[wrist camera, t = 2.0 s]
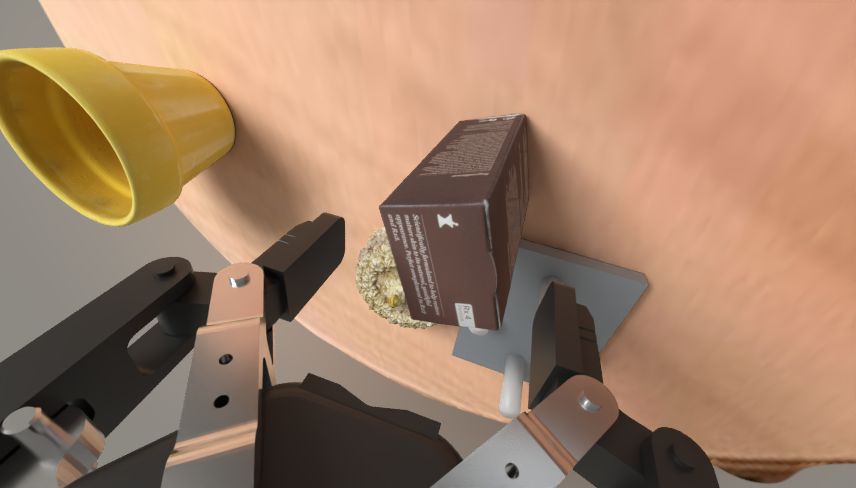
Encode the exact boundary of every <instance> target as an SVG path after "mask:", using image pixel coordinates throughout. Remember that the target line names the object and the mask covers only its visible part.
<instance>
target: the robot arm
mask: <svg viewBox="0 0 856 488" xmlns="http://www.w3.org/2000/svg"><path fill="white" fill-rule="evenodd" d="M344 253H345V220H344V218H342V217H339V216H336V215H332V214H329V213H322V214H321V215H320V216H319V217H318V218H317V219H315V220H314V221H313V222H311V221H307V222H304V223H302V224H299V225H297V226H295V227H294V228H293V229H292V230H290V231H289V232H288V233H287V235H284V236H283V237H282V238H281V239H280V240H279V241H277V242H276V243H275V244H274V245H272V246H271V247H270V248H269V249H268V250H266V251H265V252H264V253H263V254H262V255H260V256H259V257H258V258H257V259H256V260H254V261H253V262H252V263H237V264H233V265H230V266H228V267H226V268H224V269H222V270H221V271H220V272H218V273H209V272H194V271H193V269H192V266H191V264H190V262H189V261H188V260H186V259H184V258H180V257H167V258H161V259H158V260H155V261H152V262H151V263H148V264H147V265H145V266H143V267H142V268H141V269H139V270H138V271H136V272H135V273H133V274H132V275H130V276H128V277H127V278H126V279H124V280H123V281H121V282H120V283H118V284H117V285H115V286H114V287H112V288H111V289H109V290H108V291H106V292H105V293H103V294H102V295H100V296H99V297H97V298H96V299H94V300H93V301H91V302H90V303H88V304H87V305H85V306H84V307H82V308H81V309H79V310H78V311H77V312H75V313H74V314H72V315H71V316H69V317H68V318H66V319H65V320H63V321H62V322H60V323H59V324H57V325H56V326H54V327H53V328H51V329H50V330H48V331H47V332H45V333H44V334H42V335H41V336H40V337H38V338H36V339H35V340H34V341H32V342H30V343H29V344H28V345H26V346H25V347H23V348H22V349H20V350H19V351H17V352H16V353H14V354H13V355H11V356H10V357H8V358H7V359H5V360H4V361H2V362H1V363H0V488H555V487H556V486H557V485H558V484H559V483H560V482H561V481H562V480H563V479H564V477H566V475H567V474H568V473H569V472H570V471H571V470H572V469H573V470H574V471H575V472H577V473H578V474H580V475H581V476H582V477H583V478H585V479H586V480H587V481H589V482H590V483H591V484H593V485H594V486H595V487H597V488H719V484H718V481H717V478H716V475H715V472H714V468H713V466H712V464H711V462H710V460H709V458H708V457H707V455H706V454H705V452H704V451H703V450H702V449H701V448H700V446H699V445H698V444H697V443H696V442H694V441H693V440H692V439H691V438H689V437H688V436H687V435H685V434H684V433H682V432H680V431H678V430H676V429H673V428H668V427H661V428H658V429H656V430H655V431H654V432H652V431H650V430H649V429H647V428H646V427H644V426H643V425H641V424H639V423H638V422H636V421H635V420H633V419H632V418H630V417H629V416H627V415H626V414H624V413H623V412H622V411H621V410H620V409H619V408H618V404H617V401H616V399H615V397H614V396H613V394H612V393H611V392H610V390H609V389H608V388H607V387H606V386H605V385H604V384H603V378H602V371H601V365H600V358H599V351H598V344H597V338H596V334H595V332H596V331H595V324H594V319H593V317H592V315H591V314H590V312H589V310H588V309H587V307H586V306H584V305H581V304H577V303H576V294H575V288H574V287H571V286H568V285H564V284H561V283H558V282H554V281H552V282H551V283H550V285H549V287H548V289H547V291H546V293H545V295H544V297H543V299H542V301H541V303H540V305H539V307H538V309H537V311H536V313H535V317H534V320H533V326H532V344H531V363H530V382H529V401H528V409H531V411H530V412H528V413H526V412H523V413H521V414H520V415H518V416H517V417H516V418H515V419H513V420H512V421H511V422H510V423H508V424H507V425H506V426H505V427H504V428H502V429H501V430H500V431H499V432H497V433H496V434H495V435H494V436H492V437H491V438H490V439H489V440H488V441H487V442H485V443H484V444H483V445H481V446H480V447H479V448H478V449H477V450H476V451H474V452H473V453H472V454H470V455H469V456H468V457H467V458H466V459H464V460H463V459H462V458H461V456H460V455H459V453H458V452H457V451H456V450H455V448H454V447H453V446H452V445H451V444H450V443H449V442H448V441H447V440H446V439H444V438H443V437H442V436H440V435H439V434H438V433H439V429H440V425H441V423H439V422H437V421H434V420H431V419H429V418H426V417H423V416H420V415H418V414H415V413H413V412H410V411H408V410H400V409H390V408H380V407H372V406H368V405H367V404H365V403H364V402H362V401H361V400H360V399H358V398H357V397H356V396H354V395H353V394H352V393H350V392H349V391H348V390H346V389H345V388H343V387H342V386H341V385H339V384H337V383H334V382H331V381H329V380H326V379H324V378H321V377H318V376H316V375H313V374H310V373H308V375H307V376H306V378H305V379H304V381H303V382H302V383H301V382H295V383H294V382H293V383H283V384H278V385H277V384H276V374H275V335H274V323H276V321H277V320H278V319H279V318H281V319H283V320H286V321H289V322H291V321H292V320H293V319H294V318H295V317H296V315H297V314H298V313H299V312H300V311H301V309H302V308H303V307H304V306H305V305H306V304H307V302H308V301H309V300H310V299H311V298H312V296H313V295H314V294H315V293H316V292H317V290H318V289H319V288H320V287H321V286H322V285H323V283H324V282H325V281H326V280H327V279H328V277H329V276H330V275H331V274H332V273H333V271H334V270H335V269H336V268H337V267H338V265H339V264H340V263H341V261H342V259H343V257H344ZM155 317H157V319H158V321H159V322H158V323H157V324H155V326H153V327H152V328H151V329H150V330H148V331H147V332H146V333H145V334H144V335H143V336H141V337H140V338H139V339H138V340H137V341H136V342H134V343H133V344H132V345H131V346H130V347H129V348H127V346H128V343H129V341H130V340H131V338H132V337H133V336H134V335H135V334H136V333H137V332H138V331H139V330H141V329H142V328H143V327H144V326H145V325H147V324H148V323H149V322H150V321H152V320H153V319H154V318H155ZM193 348H194V350H193V355H192V361H191V366H190V371H189V377H188V382H187V387H186V392H185V398H184V403H183V408H182V413H181V419H180V424H179V429H178V430H177V431H175V432H173V433H170V434H169V435H166V436H164V437H162V438H160V439H158V440H156V441H154V442H152V443H150V444H148V445H146V446H144V447H141V448H139V449H137V450H135V451H133V452H131V453H129V454H127V455H125V456H123V457H121V458H119V459H116V460H115V461H112V462H110V463H108V464H106V465H104V466H102V467H100V468H98V469H96V468H97V465H98V463H97V460H98V458H99V456H100V455H101V453H102V451H103V449H104V445H105V438H106V437H107V436H108V435H109V434H110V433H111V432H112V431H113V430H114V429H115V428H116V427H117V426H118V425H119V424H120V422H122V421H123V419H125V418H126V417H127V415H129V413H130V412H131V411H132V410H133V409H134V408H135V407H136V406H137V405H138V404H139V403H140V402H141V401H142V400H143V399H144V398H145V397H146V396H147V395H148V394H149V393H150V392H151V391H152V390H153V389H154V388H155V387H156V386H157V385H158V384H159V383H160V382H161V381H162V380H163V379H164V378H165V377H166V376H167V375H168V374H169V372H171V371H172V369H173V368H174V367H175V366H176V365H177V364H178V363H179V362H180V361H181V360H182V359H183V358H184V357H185V356H186V355H187V354H188V353H189V352H190V351H191V350H192V349H193Z"/></svg>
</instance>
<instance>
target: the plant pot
mask: <svg viewBox="0 0 856 488" xmlns="http://www.w3.org/2000/svg"><path fill="white" fill-rule="evenodd" d="M0 129H1V131H2V133H3V134H4V136H5V137H6V139H7V140H8V142H9V143H10V145H11V146H12V148H14V150H15V152H16V153H17V154H18V156H19V157H20V158H21V159H22V161H23V162H24V163H25V164H26V165H27V167H28V168H29V169H30V170H31V171H32V172H33V173H34V174H35V175H36V176H37V178H39V179H40V181H41V182H43V183H44V185H46V186H47V187H48V188H49V189H50V190H51V191H52V192H53V193H54V194H55V195H57V196H58V197H59V198H60V199H61V200H63V201H64V202H65V203H67V204H68V205H69V206H71V207H72V208H73V209H75V210H76V211H78V212H79V213H81V214H83V215H84V216H86V217H88V218H90V219H92V220H94V221H96V222H99V223H102V224H105V225H109V226H118V227H120V226H127V225H130V224H133V223H135V222H137V221H139V220H141V219H144V218H146V217H148V216H150V215H152V214H154V213H156V212H158V211H160V210H162V209H164V208H165V207H167V206H169V205H171V204H172V203H174V202H175V201H176V200H177V199H178V197H179V196H180V194H181V191H182V187H183V186H184V185H185V184H186V183H188V182H189V181H190V180H192V179H193V178H194V177H196V176H197V175H198V174H199V173H201V172H202V171H203V170H205V169H206V168H207V167H209V166H210V165H212V164H213V163H214V162H216V161H217V160H218V159H219V158H221V157H222V156H223V155H225V154H226V153H227V152H229V150H230V149H231V148H232V146H233V143H234V139H235V127H234V122H233V118H232V115H231V112H230V110H229V108H228V106H227V104H226V102H225V101H224V99H223V97H222V96H221V94H220V93H219V92H218V91H217V90H216V89H215V88H214V86H213V85H212V84H210V83H209V82H208V81H207V80H206V79H204V78H203V77H201V76H200V75H198V74H196V73H194V72H191V71H187V70H181V69H172V68H162V67H154V66H145V65H136V64H127V63H119V62H112V61H106V60H105V59H103V58H101V57H99V56H97V55H95V54H93V53H90V52H88V51H84V50H80V49H75V48H26V49H9V50H1V51H0Z"/></svg>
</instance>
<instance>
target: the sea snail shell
mask: <svg viewBox="0 0 856 488" xmlns="http://www.w3.org/2000/svg"><path fill="white" fill-rule="evenodd" d="M360 252H361V254H360V255H359V259H358V260H359V264H357V267H356V269H357V275H356V284H357V286H358V289H359V293H360V294H361V295H362V296H363V299H364V300H365V301H366V303H368V305H370V306H369V307H370V309H369V310H371V309H372V310H374V312H376V313H378V314H379V315H380V316H381V318H382V317H383V318H385V319H387V318H388V322H389V323H392V324H397V323H398V324H399V325H400V327H402V326H403V327H404V328H405V327H409V328H411V327H413V328H414V329H416V328H419V327H420V328H422V329H425V328H426V327H427V326H433V325H436V323H430V322H424V321H418V320H412V319H411V316H410V312H409V309H408V305H407V302H406V299H405V295H404V292H403V288H402V285H401V282H400V278H399V275H398V271H397V268H396V264H395V261H394V258H393V254H392V251H391V248H390V244H389V241H388V237H387V233H386V230H385V227H382V228H381V230H378V231H377V230H375V231H374V232H373V236H370V237H369V239H368V243H367V246H366V248H364V249H362V250H360Z"/></svg>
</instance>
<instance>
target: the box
mask: <svg viewBox="0 0 856 488" xmlns="http://www.w3.org/2000/svg"><path fill="white" fill-rule="evenodd" d="M528 200H529V182H528V149H527V126H526V115H525V114H511V115H505V116H494V117H489V118H481V119H473V120H465V121H459V122H458V123H457V125H455V126H454V128H453V129H452V130H451V131H450V132H449V133H448V134H447V135H446V136H445V137H444V138H443V139H442V140H441V141H440V143H439V144H437V146H436V147H435V148H434V149H433V150H432V151H431V152H430V153H429V154H428V155H427V156H426V157H425V158H424V159H423V160H422V162H421V163H420V164H419V165H418V166H417V167H416V168H415V169H414V170H413V171H412V172H411V173H410V174H409V175H408V176H407V177H406V178H405V179H404V180H403V182H402V183H401V184H400V185H399V186H398V187H397V188H396V189H395V190H394V191H393V192H392V194H391V195H390V196H389V197H388V198H387V199H386V200H385V201H384V202H383V203H382V204H381V205H380V206H379V210H380V213H381V217H382V220H383V223H384V227H385V230H386V233H387V237H388V241H389V244H390V248H391V251H392V254H393V258H394V261H395V264H396V268H397V271H398V275H399V278H400V282H401V285H402V288H403V292H404V295H405V299H406V302H407V305H408V309H409V312H410V316H411V319H412V320H418V321H424V322H430V323H438V324H446V325H455V326H463V327H471V328H480V329H488V330H495V331H497V330H500V328H501V326H502V322H503V318H504V314H505V309H506V305H507V300H508V295H509V291H510V287H511V281H512V276H513V271H514V266H515V262H516V258H517V253H518V248H519V244H520V239H521V234H522V229H523V225H524V220H525V215H526V210H527V205H528Z"/></svg>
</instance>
